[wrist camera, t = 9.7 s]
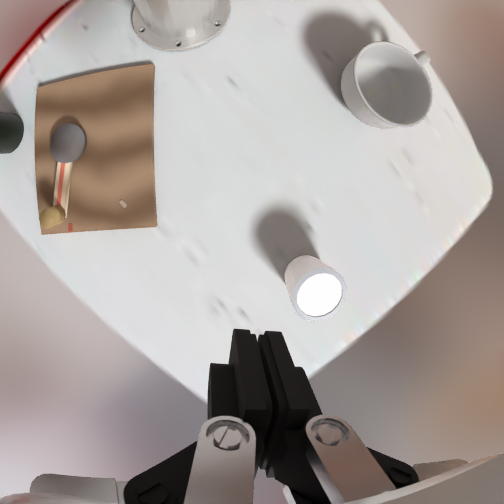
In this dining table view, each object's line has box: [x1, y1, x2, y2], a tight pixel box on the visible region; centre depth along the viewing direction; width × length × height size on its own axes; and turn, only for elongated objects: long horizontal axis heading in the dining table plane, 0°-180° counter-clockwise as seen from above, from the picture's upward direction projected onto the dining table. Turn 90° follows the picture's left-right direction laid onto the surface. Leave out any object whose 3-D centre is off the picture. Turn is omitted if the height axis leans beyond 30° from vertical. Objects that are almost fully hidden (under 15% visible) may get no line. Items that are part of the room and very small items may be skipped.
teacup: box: [341, 41, 433, 129], centre depth 32 cm, size 14×11×8 cm
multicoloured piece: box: [39, 123, 87, 229], centre depth 31 cm, size 13×5×4 cm, turn 168°
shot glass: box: [285, 255, 347, 321], centre depth 38 cm, size 7×7×7 cm
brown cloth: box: [35, 64, 157, 235], centre depth 33 cm, size 20×17×1 cm
